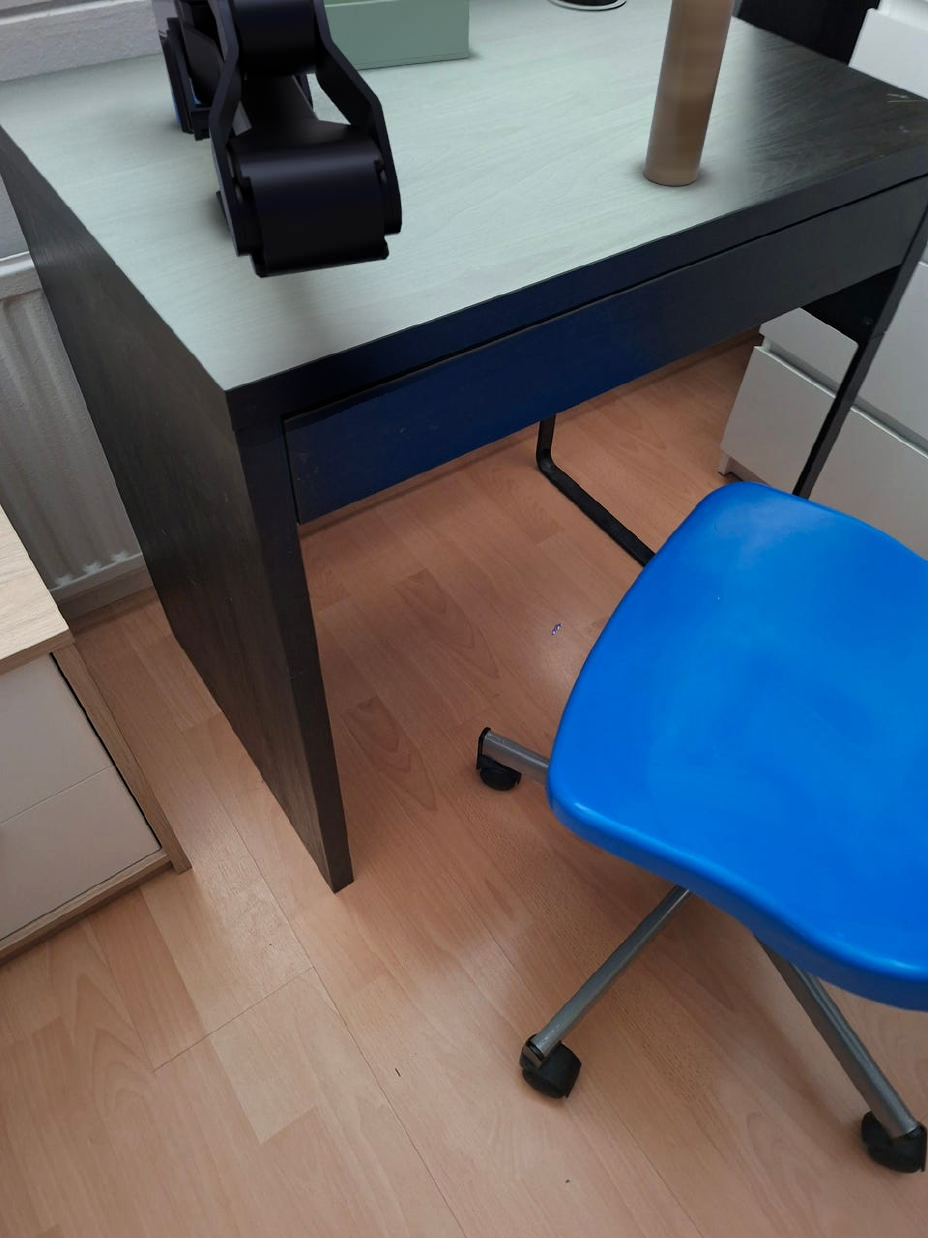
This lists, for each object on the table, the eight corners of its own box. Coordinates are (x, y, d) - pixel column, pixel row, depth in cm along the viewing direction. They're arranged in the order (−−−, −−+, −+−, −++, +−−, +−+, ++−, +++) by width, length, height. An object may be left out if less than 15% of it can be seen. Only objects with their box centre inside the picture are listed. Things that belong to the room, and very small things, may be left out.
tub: (468, 57, 87) (469, -7, 83) (325, 73, 84) (318, 7, 80) (423, 13, 97) (422, -47, 92) (292, 26, 93) (284, -36, 89)
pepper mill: (706, 181, 69) (756, -39, 58) (659, 189, 68) (700, -34, 57) (680, 160, 72) (722, -55, 61) (634, 166, 71) (668, -50, 60)
